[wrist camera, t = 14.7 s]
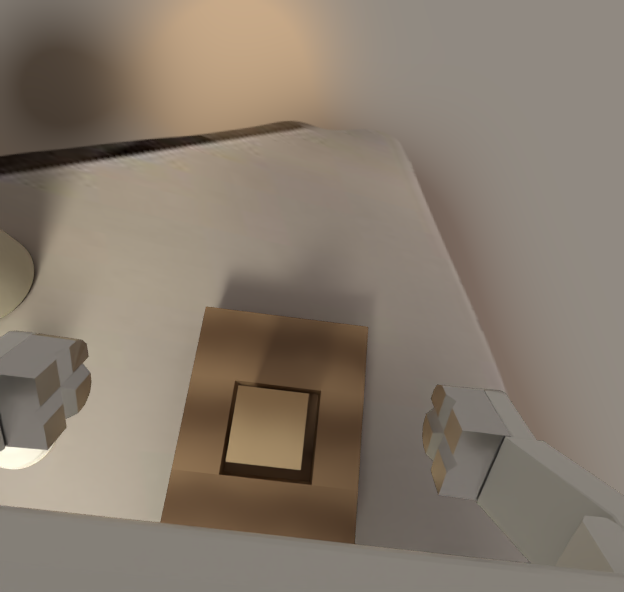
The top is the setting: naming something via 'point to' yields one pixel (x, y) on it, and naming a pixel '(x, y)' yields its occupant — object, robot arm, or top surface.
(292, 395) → the pin
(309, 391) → the socket block
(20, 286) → the travel mug
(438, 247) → the top surface
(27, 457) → the chess piece
